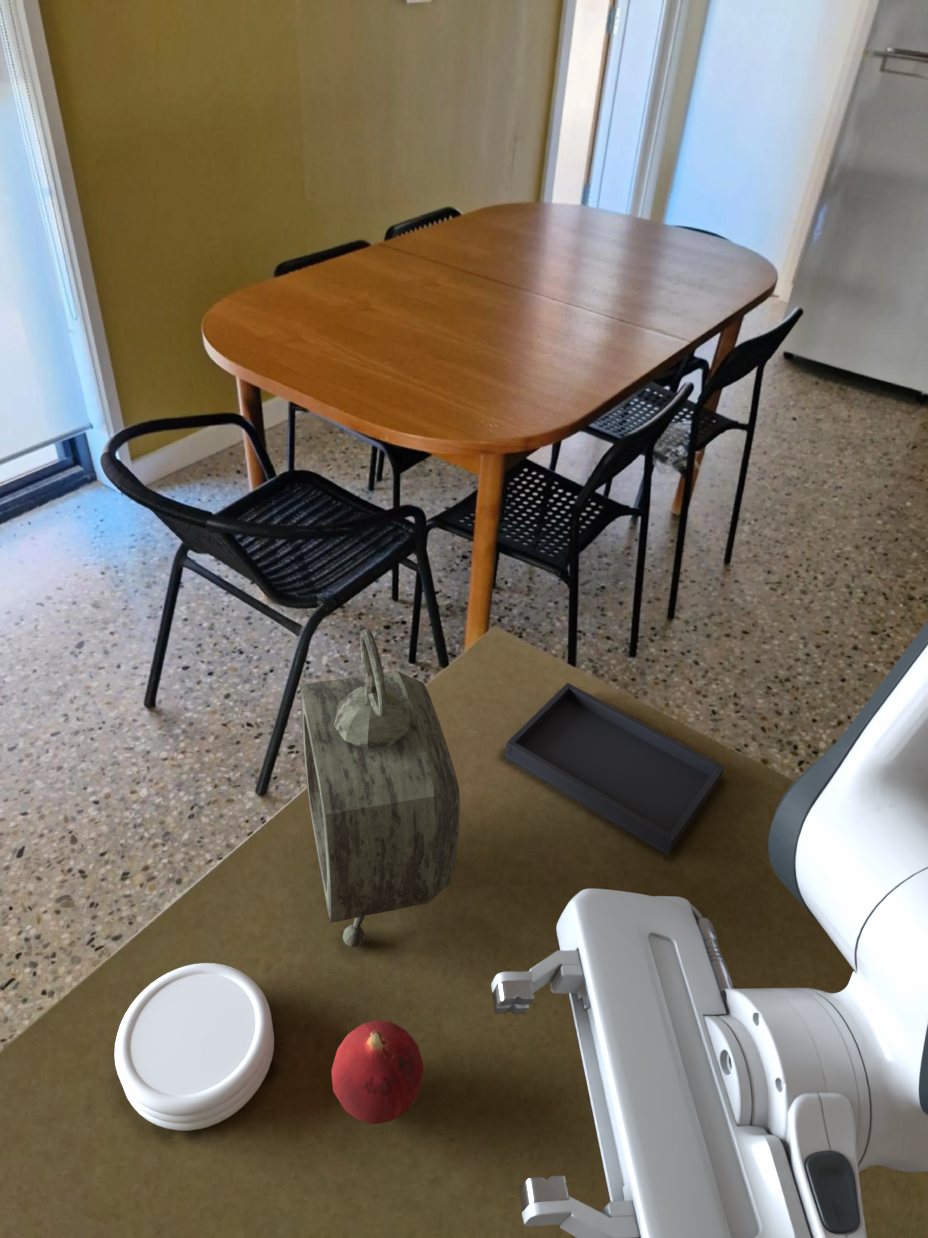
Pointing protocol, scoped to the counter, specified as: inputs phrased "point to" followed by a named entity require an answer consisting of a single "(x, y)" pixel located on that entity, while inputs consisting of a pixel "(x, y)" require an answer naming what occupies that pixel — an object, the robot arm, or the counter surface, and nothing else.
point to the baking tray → (616, 766)
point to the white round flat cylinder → (194, 1046)
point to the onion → (377, 1072)
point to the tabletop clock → (378, 792)
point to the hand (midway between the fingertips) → (508, 1089)
